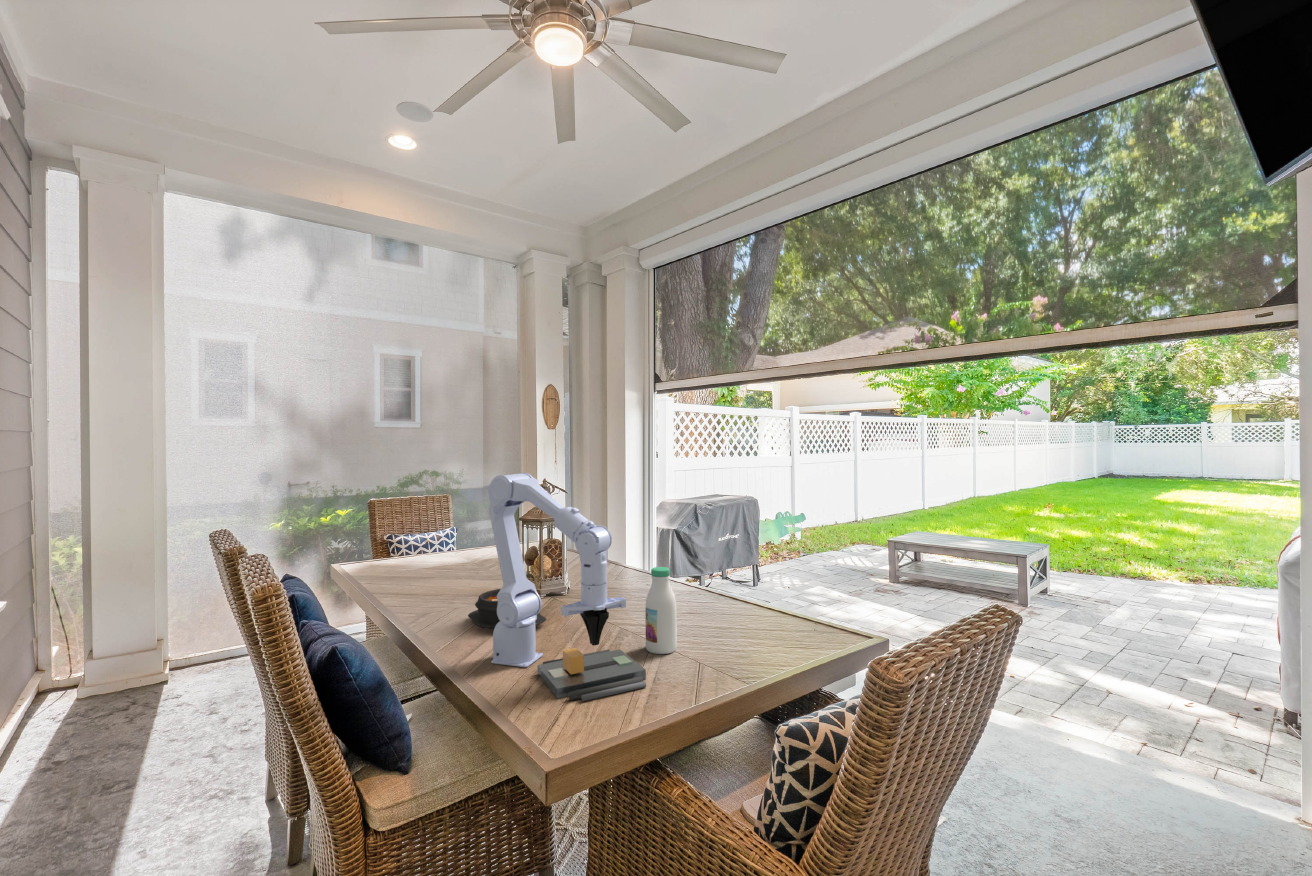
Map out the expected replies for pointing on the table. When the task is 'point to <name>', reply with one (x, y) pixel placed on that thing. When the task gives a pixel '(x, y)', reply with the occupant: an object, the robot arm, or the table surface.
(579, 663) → the lever
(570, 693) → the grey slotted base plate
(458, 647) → the table surface
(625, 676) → the grey flat slab
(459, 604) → the table surface
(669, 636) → the milk bottle
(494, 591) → the casserole
